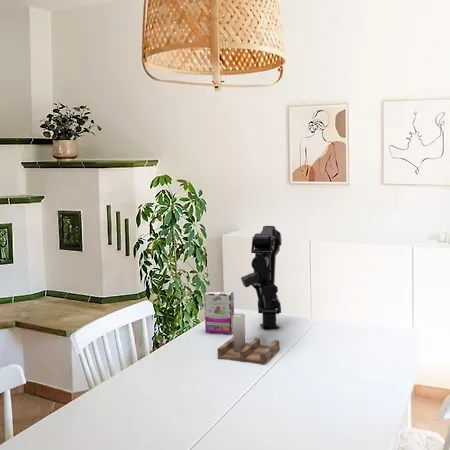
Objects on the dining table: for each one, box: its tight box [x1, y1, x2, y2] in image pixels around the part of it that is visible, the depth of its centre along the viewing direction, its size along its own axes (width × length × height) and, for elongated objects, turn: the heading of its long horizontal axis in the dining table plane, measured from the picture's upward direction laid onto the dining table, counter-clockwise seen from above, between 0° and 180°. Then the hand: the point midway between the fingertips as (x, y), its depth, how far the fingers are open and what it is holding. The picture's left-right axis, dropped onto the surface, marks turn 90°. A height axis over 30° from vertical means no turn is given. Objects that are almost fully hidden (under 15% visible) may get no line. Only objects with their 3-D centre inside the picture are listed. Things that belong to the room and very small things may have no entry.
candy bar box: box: [203, 290, 235, 335], centre depth 245 cm, size 11×5×16 cm, turn 73°
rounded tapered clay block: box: [232, 313, 246, 352], centre depth 220 cm, size 4×4×13 cm
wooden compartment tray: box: [217, 336, 281, 365], centre depth 219 cm, size 16×18×4 cm
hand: (263, 306), depth 234 cm, fingers open, 9 cm apart
